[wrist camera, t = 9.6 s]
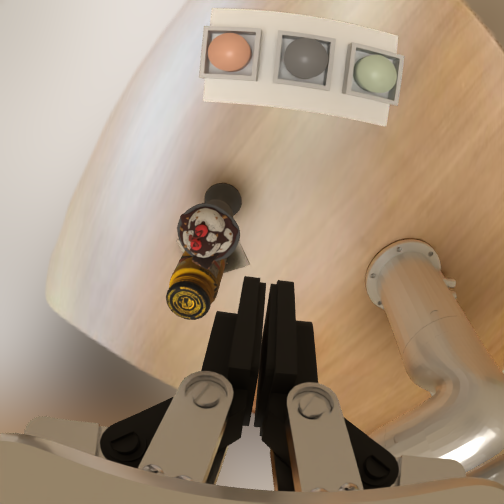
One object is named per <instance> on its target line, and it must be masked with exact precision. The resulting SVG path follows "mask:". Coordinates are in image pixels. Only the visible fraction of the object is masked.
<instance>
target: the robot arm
mask: <svg viewBox="0 0 504 504" xmlns="http://www.w3.org/2000/svg"><path fill="white" fill-rule="evenodd" d="M365 284H366V290H367V293H368V295H369V298H370V299H371V301H372V302H373V303H374V304H375V305H376V306H378V307H380V308H382V309H384V310H385V312H386V315H387V317H388V320H389V323H390V326H391V328H392V331H393V334H394V337H395V340H396V342H397V345H398V348H399V351H400V354H401V357H402V360H403V363H404V366H405V369H406V371H407V374H408V376H409V377H410V379H411V380H412V381H413V382H414V383H415V384H416V385H418V386H419V387H421V388H423V389H425V390H427V391H429V392H432V393H435V394H434V395H433V396H432V397H431V398H429V399H428V400H426V401H424V402H423V403H422V404H420V405H419V406H417V407H415V408H414V409H412V410H410V411H408V412H407V413H405V414H403V415H401V416H399V417H398V418H396V419H394V420H392V421H390V422H389V423H387V424H385V425H383V426H381V427H380V428H378V429H376V430H375V431H373V432H372V433H371V434H370V435H369V436H367V435H366V434H365V433H363V432H362V431H361V430H360V429H358V428H357V427H356V426H354V425H353V424H352V423H350V422H349V421H348V420H347V419H345V418H344V417H343V414H342V410H341V407H340V404H339V400H338V398H337V396H336V394H335V393H334V392H333V391H332V390H331V389H330V388H328V387H326V386H325V385H322V384H319V383H318V376H317V364H316V353H315V342H314V332H313V324H312V322H305V321H296V316H295V294H294V282H289V281H280V280H278V281H277V284H271V286H270V293H269V299H268V305H267V312H266V318H265V324H264V330H263V336H262V329H263V317H264V304H265V291H266V283H261V282H260V278H255V277H247V276H244V281H243V287H242V292H241V298H240V303H239V309H238V314H235V313H227V312H220V311H217V312H216V316H215V319H214V323H213V327H212V331H211V335H210V339H209V343H208V347H207V351H206V354H205V358H204V362H203V366H202V370H201V371H199V372H195V373H192V374H190V375H189V376H187V377H186V378H184V380H183V381H182V382H181V384H180V386H179V388H178V390H177V392H176V394H175V396H174V397H172V398H170V399H168V400H166V401H164V402H161V403H159V404H157V405H155V406H153V407H151V408H149V409H146V410H144V411H142V412H140V413H138V414H135V415H133V416H131V417H129V418H127V419H124V420H122V421H119V422H117V423H115V424H113V425H111V426H110V427H101V426H100V425H99V424H98V423H89V422H80V421H71V420H64V419H58V418H51V417H46V416H44V417H43V416H42V417H36V418H34V419H32V420H31V421H30V422H29V423H28V424H27V426H26V429H25V431H24V434H19V433H0V504H504V454H502V455H500V456H498V457H496V458H494V459H492V460H490V461H488V462H486V461H487V460H489V459H491V458H492V457H494V456H495V455H497V454H498V453H499V452H501V451H502V450H503V449H504V374H503V372H502V371H501V370H500V368H499V367H498V366H497V364H496V363H495V362H494V360H493V359H492V357H491V356H490V355H489V353H488V352H487V350H486V348H485V347H484V345H483V343H482V342H481V340H480V339H479V337H478V335H477V334H476V332H475V330H474V329H473V327H472V325H471V323H470V322H469V320H468V318H467V317H466V315H465V313H464V312H463V310H462V309H461V307H460V305H459V304H458V302H457V301H456V292H455V291H451V290H449V288H448V287H452V288H454V287H455V285H456V280H455V279H452V278H445V277H444V276H443V274H442V273H441V263H440V259H439V256H438V255H437V253H436V252H435V250H434V249H433V248H432V247H431V246H430V245H428V244H427V243H425V242H423V241H420V240H415V239H406V240H401V241H398V242H395V243H393V244H391V245H389V246H387V247H386V248H384V249H383V250H382V251H381V252H379V253H378V254H377V256H376V257H375V258H374V259H373V260H372V262H371V264H370V266H369V268H368V270H367V273H366V279H365ZM261 342H262V343H261ZM258 373H259V376H258ZM257 379H258V388H257V399H256V410H255V422H254V427H260V436H262V441H263V442H264V443H265V444H266V445H267V446H268V447H269V448H270V458H271V466H272V474H273V482H274V491H267V490H255V489H244V488H235V487H227V486H219V485H216V482H217V479H218V476H219V473H220V471H221V468H222V465H223V462H224V459H225V456H226V453H227V450H228V445H230V444H232V443H233V442H235V441H236V440H238V439H239V438H241V433H242V426H249V422H250V417H251V412H252V406H253V401H254V396H255V390H256V385H257ZM484 462H486V463H484ZM482 463H484V464H483V465H481V466H479V465H480V464H482ZM477 466H479V467H477ZM475 467H477V468H475ZM473 468H475V469H473ZM471 469H473V470H472V471H470V470H471ZM468 471H470V472H468ZM466 472H468V473H466Z"/></svg>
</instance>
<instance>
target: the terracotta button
mask: <svg viewBox="0 0 504 504" xmlns="http://www.w3.org/2000/svg"><path fill="white" fill-rule="evenodd" d="M251 56H252V51H251V48H250V46H249V44H248V43H247V41H246V40H245V39H244V38H243V37H242V36H240V35H238V34H235V33H224V34H221V35H219V36H217V37H216V38H214V39H213V40H212V42H211V43H210V45H209V48H208V57H209V60H210V62H211V63H212V64H213V65H214V66H215V67H216V68H218V69H221V70H224V71H227V72H236V71H240V70H242V69H244V68H245V67H246V66H247V65H248V64H249V62H250V60H251Z"/></svg>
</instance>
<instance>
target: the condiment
mask: <svg viewBox="0 0 504 504" xmlns="http://www.w3.org/2000/svg"><path fill="white" fill-rule="evenodd" d="M176 242H177V243H178V245H179V247H180V248H181V250H182V252H183V255H182V257H181V259H180V260H179V263H178V265H177V267H176V269H175V271H174V273H173V274H172V277H171V279H170V284H169V285H170V287H169V290H168V291H167V295H166V301H167V304H168V306H169V308H170V309H171V311H172V312H174V313H175V314H176V315H177V316H179V317H182V318H184V319H191V320H196V319H199V318H202V317H203V316H204V315H206V313H207V312H208V310H209V309H210V305H211V303H212V302H213V301H214V300H215V298H216V296H217V293H218V289H219V286H220V282H221V279H222V275H223V273H225V272H229V271H231V270H235V269H238V268H242V267H245V266H248V265H249V262H248V260H247V258H246V256H245V253H244V252H243V249H242V247H241V245H240V243H239V242H238V245H237V247H236V249H235V251H234V252H233V253H232V254H231V255H230V256H228V257H227V258H225V259H222V260H218V261H214V263H213V264H212V266H211V267H210V268H209V269H205V268H203V267H201V266H199V265H197V264H195V263H194V262H192V258H193V256H191V255H190V254H188V253H187V252H186V251H185V250H184V248H183V246H182V245H181V243H180V241H179V240H177V241H176Z"/></svg>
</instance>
